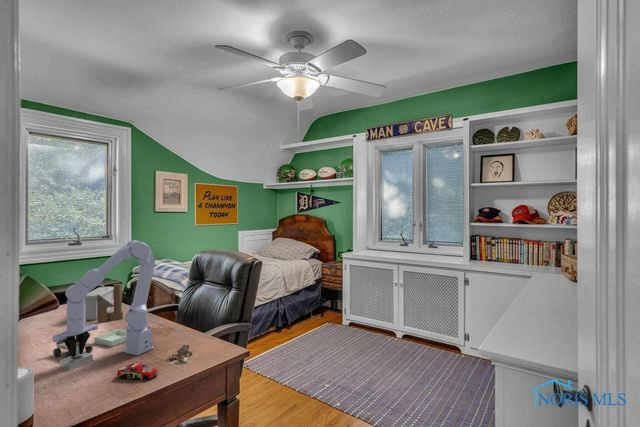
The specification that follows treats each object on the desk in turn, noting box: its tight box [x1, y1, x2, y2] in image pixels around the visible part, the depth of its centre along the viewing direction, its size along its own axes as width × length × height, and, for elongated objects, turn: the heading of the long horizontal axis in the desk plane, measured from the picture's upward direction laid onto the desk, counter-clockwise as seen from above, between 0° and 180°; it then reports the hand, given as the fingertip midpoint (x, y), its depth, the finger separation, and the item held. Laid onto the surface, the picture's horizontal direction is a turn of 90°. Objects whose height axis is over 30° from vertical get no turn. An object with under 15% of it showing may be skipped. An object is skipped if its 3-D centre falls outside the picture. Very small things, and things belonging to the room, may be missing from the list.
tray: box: [94, 328, 126, 348], centre depth 150 cm, size 11×11×2 cm
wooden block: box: [96, 283, 124, 324], centre depth 176 cm, size 4×11×18 cm, turn 134°
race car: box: [116, 363, 158, 381], centre depth 118 cm, size 13×5×4 cm, turn 84°
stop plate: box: [59, 351, 94, 371], centre depth 127 cm, size 6×8×2 cm
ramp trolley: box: [52, 336, 94, 358], centre depth 136 cm, size 10×9×7 cm
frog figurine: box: [167, 344, 198, 365], centre depth 133 cm, size 12×12×4 cm
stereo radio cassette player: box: [85, 283, 114, 322], centre depth 185 cm, size 21×8×20 cm, turn 10°
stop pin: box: [73, 341, 80, 360], centre depth 127 cm, size 2×2×8 cm
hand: (76, 354), depth 127 cm, fingers closed on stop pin, 2 cm apart
